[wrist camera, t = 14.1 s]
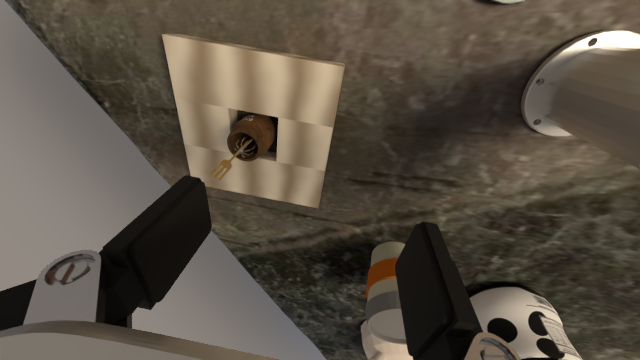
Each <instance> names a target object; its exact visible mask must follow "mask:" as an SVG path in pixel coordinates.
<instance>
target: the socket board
mask: <svg viewBox="0 0 640 360" xmlns="http://www.w3.org/2000/svg"><path fill="white" fill-rule="evenodd" d="M162 37H163V42H164V47H165V52H166V57H167V62H168V67H169V71H170V76H171V81H172V86H173V91H174V96H175V101H176V106H177V111H178V116H179V121H180V126H181V130H182V135H183V140H184V145H185V150H186V155H187V160H188V165H189V170H190V175H191V176H193V177H198V178H200V179H201V181H202V182H204V183H205V186H207V187H212V188H218V189H223V190H228V191H233V192H238V193H243V194H248V195H253V196H258V197H263V198H268V199H273V200H279V201H284V202H289V203H294V204H299V205H304V206H309V207H314V208H318V207H319V202H320V197H321V192H322V186H323V181H324V175H325V170H326V165H327V159H328V154H329V148H330V143H331V137H332V132H333V127H334V121H335V116H336V110H337V105H338V100H339V94H340V89H341V83H342V78H343V72H344V67H345V63H339V62H333V61H328V60H322V59H317V58H311V57H305V56H300V55H294V54H289V53H283V52H278V51H272V50H266V49H261V48H255V47H250V46H244V45H238V44H233V43H227V42H222V41H216V40H210V39H205V38H199V37H194V36H188V35H182V34H177V33H176V34H162ZM237 110H241V111H246V112H252V113H257V114H263V115H268V116H273V117H278V136H277V153H276V152H271V151H266V152H265V153H264V154H262V155H261V156H260V157H258V158H257V159H256V160H254V161H249V162H247V161H242V160H239V159H238V158H236V157H235V158H234V159H233V160H232V161H231V164H232V168H231V169H230V170H229V171H228V172H227V173H226V174H225V176H224V177H223V178H222V179H221V180H220V181H218V179H219V177H220V176H221V175H222V174H223V173H224V172H225V171H226V170H227V169H226V168H225V169H224V170H223V171H222V172H221V173H220V174H219V175H218V176H217V177H216V178H215V177H214V176H215V175H216V174H217V173H218V171H219V170H220V169H221V168H222V167H223V165H221V166H220V167H219V168H218V169H217V170H216V171H215V172H214V173H213V174H212V175H211V174H210V173H211V172H212V171H213V170H214V169H215V168H216V167H217V166H218V165H219V164H220V163H221V161H222V160H224V159H225V160H230V159H231V158H232V157H233V156H234V155H233V154H232V153H231V152H230V150H229V148H228V146H227V138H228V136H229V134H230V132H231V131H232V130H233V128H234V126H235V125H236V124H237V123H238V115H237Z"/></svg>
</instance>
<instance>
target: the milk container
mask: <svg viewBox="0 0 640 360" xmlns="http://www.w3.org/2000/svg"><path fill="white" fill-rule="evenodd" d="M469 298H470V301H471V303H472V306H473V308H474V311H475V313H476V315H477V318H478V320H479V323H480V325H481V327H482V330H483V332H487V333H491V334H494V335H496V336H498V337H500V338H501V339H503V340H504V341H506V342H507V343H508V344H509V345H510V346H511V347H512V348H513V349H514V350H515V352H516V353H517V354H518V355H519V357H520V358H521V360H583V359H582V358H581V357H580V355H579V354H578V353H577V351H576V350H575V348H574V347H573V345H572V344H571V342H570V341H569V339H568V337H567V335H566V333H565V330H564V327H563V324H562V322H561V319H560V317H559V316H558V314H557V312H556V311H555V310H554V308H553V307H552V306H551V305H550V304H549V302H548V301H547V300H546V299H545V298H544V297H542V296H541V295H540V294H538V293H537V292H535V291H533V290H530V289H527V288H524V287H519V286H509V285H506V286H495V287H491V288H487V289H483V290H481V291H479V292H477V293H475V294H473V295H472V296H471V297H469Z"/></svg>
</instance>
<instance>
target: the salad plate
mask: <svg viewBox="0 0 640 360" xmlns="http://www.w3.org/2000/svg"><path fill="white" fill-rule="evenodd" d="M489 1H491V2H494V3H499V4H514V3H520V2H523V1H526V0H489Z"/></svg>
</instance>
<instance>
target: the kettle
mask: <svg viewBox="0 0 640 360" xmlns="http://www.w3.org/2000/svg"><path fill="white" fill-rule="evenodd" d="M361 334H362V344H363V348H364V350H365V353H366V355H367V358H368V359H369V360H413V356H410V355H409V353H408V349H407V345H404V344H395V343H390V342H387V341H384V340H381V339H379V338H377V337H376V336H374V335H373V334H372V333H371V332H370V331H369V329H368V326H367V320H366V321H365V322H364V323H363V324H362V326H361Z"/></svg>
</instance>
